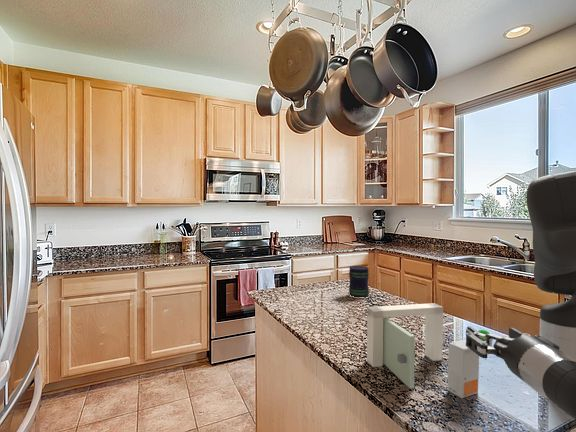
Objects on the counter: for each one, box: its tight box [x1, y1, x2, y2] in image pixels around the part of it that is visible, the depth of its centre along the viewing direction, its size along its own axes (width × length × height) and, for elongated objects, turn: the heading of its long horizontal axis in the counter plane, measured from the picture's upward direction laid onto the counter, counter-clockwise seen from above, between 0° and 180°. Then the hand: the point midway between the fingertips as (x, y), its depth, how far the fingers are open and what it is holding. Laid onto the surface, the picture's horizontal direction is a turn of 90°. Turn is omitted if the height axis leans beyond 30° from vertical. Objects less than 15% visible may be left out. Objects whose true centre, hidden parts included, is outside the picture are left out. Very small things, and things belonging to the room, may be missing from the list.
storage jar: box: [348, 265, 370, 298], centre depth 168 cm, size 10×10×15 cm
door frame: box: [366, 302, 444, 368], centre depth 97 cm, size 22×4×16 cm, turn 102°
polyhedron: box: [477, 329, 494, 341], centre depth 109 cm, size 5×5×5 cm
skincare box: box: [447, 339, 480, 399], centre depth 81 cm, size 6×4×12 cm
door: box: [383, 317, 416, 389], centre depth 89 cm, size 16×3×13 cm, turn 12°
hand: (489, 331), depth 69 cm, fingers open, 8 cm apart
